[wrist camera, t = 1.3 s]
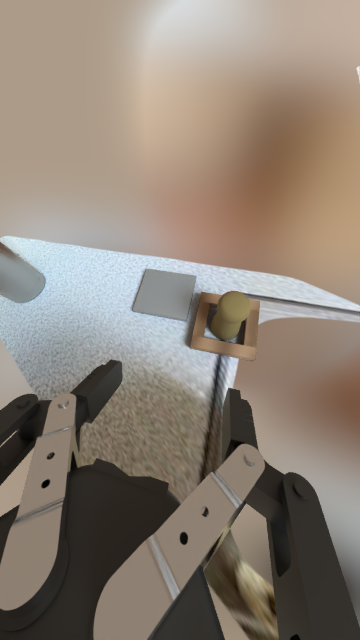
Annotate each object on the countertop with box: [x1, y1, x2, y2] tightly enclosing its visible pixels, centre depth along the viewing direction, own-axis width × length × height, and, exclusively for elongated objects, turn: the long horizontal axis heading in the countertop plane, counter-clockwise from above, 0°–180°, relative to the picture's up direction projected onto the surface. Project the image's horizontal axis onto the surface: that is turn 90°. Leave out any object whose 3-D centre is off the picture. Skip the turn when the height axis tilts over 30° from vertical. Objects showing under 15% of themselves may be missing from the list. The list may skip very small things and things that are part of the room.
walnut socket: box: [190, 292, 260, 361], centre depth 36 cm, size 12×12×2 cm
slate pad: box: [133, 269, 196, 321], centre depth 40 cm, size 12×11×1 cm
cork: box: [210, 291, 251, 340], centre depth 32 cm, size 6×6×11 cm
